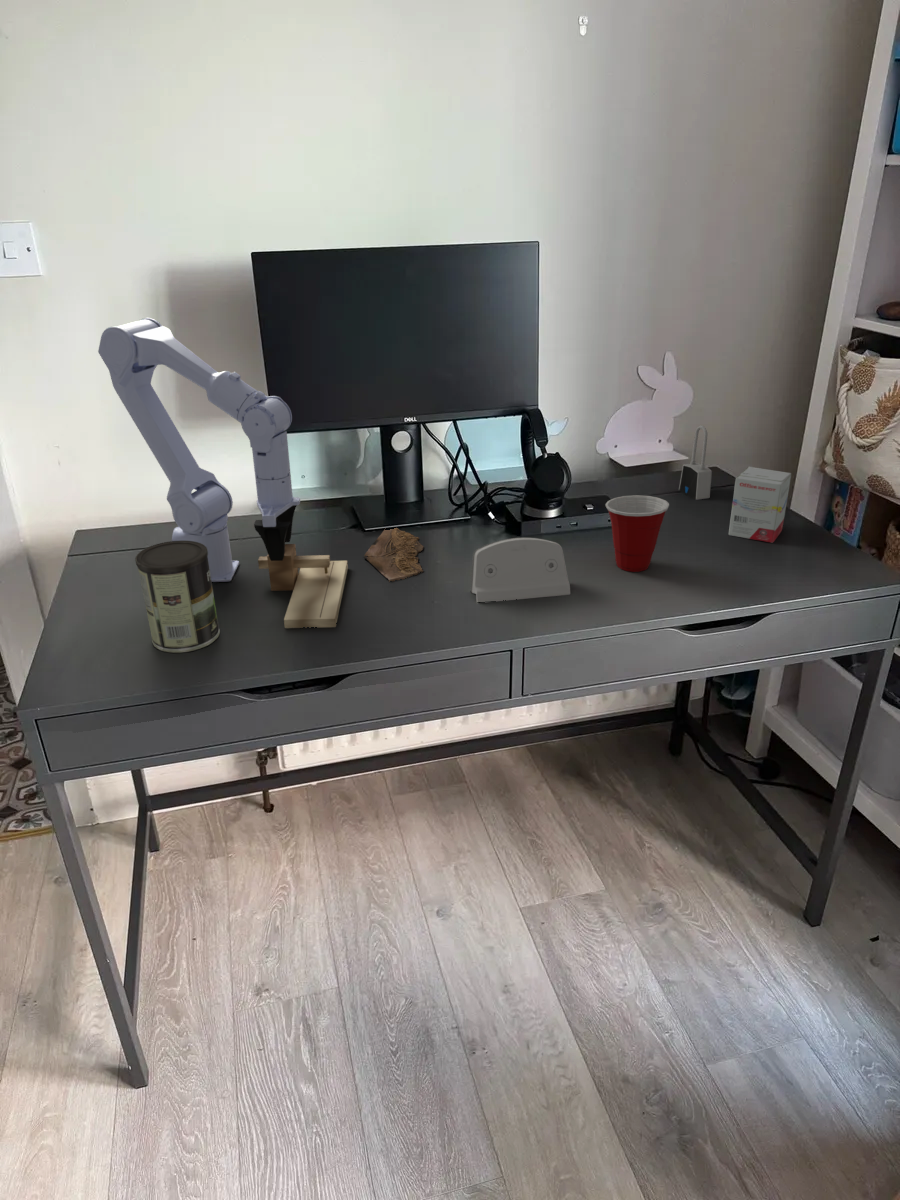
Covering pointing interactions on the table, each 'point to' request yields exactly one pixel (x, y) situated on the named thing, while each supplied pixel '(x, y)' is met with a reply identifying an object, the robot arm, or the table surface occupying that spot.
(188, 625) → the coffee can
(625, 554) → the plastic cup
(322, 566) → the gauge
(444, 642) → the table surface
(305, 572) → the board
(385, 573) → the wooden fragment
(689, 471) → the padlock
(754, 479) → the ink box
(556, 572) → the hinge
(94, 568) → the table surface
